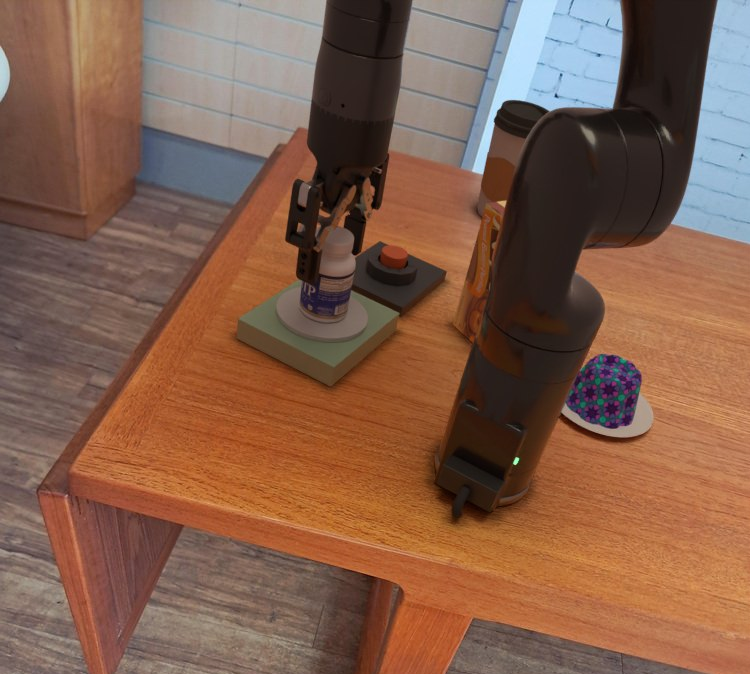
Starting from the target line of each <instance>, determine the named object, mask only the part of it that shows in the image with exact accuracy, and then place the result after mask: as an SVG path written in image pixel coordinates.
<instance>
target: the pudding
mask: <svg viewBox="0 0 750 674" xmlns="http://www.w3.org/2000/svg"><path fill="white" fill-rule="evenodd" d="M642 382H643V375H642V373H641V371H640V370H639V369H638V368H636V365H635V364H634V363H633V362H631V361H630V360H628V359H625V358H623V357H621V356H620V355H617V354H607V353H598V354H596V355H595V356H594V357H592V358H591V359H590V360H588V361H587V362H586V363H585V364H584V366H582V368H581V370H580V372H579V374H578V376H577V378H576V381H575V383H574V385H573V387H572V389H571V392H570V394H569V396H568V398H567V401H566V403H565V405H564V407H563V410H562V412H561V414H563V416H565V417H566V418H568V420H570V421H572V422H573V423H574V424H577V425H578V426H579V427H581V428H583V429H586V430H588V431H590V432H594V433H597V434H598V435H599V434H600V435H604V436H607V437H613V438H632V437H637V436H640V435H643V434H644V433H646V432H648V431H649V430H650V428H651V427H652V426H653V423H654V418H655V417H654V416H655V415H654V411H653V408H652V406H651V404H650V402H649V401H648V399H647V398H646V397H645V396H644V395H643V394H642V393H641V386H642Z"/></svg>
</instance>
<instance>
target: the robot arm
mask: <svg viewBox="0 0 750 674" xmlns="http://www.w3.org/2000/svg"><path fill="white" fill-rule="evenodd" d="M718 2H719V0H619V5H620V6H619V8H620V13H621V14H620V16H621V31H622V36H621V52H620V60H619V61H620V62H619V69H618V77H617V83H616V89H615V94H614V100H613V103H612V108H606V107H605V108H603V107H582V106H581V107H580V106H566V107H558V108H554V109H553V110H549V111H550V112H548V113H547V114H545V115H544V116H543V117H542V118H541V119H540V120H539V121H538V122H537V123H536V124H535V126H534V127H533V128H532V130H531V132H530V133H529V135H528V136H527V138H526V140H525V143H524V145H523V147H522V149H521V151H520V154H519V157H518V160H517V163H516V166H515V170H514V173H513V177H512V180H511V184H510V188H509V193H508V197H507V201H506V205H505V209H504V213H503V217H502V221H501V224H500V228H499V232H498V236H497V240H496V243H495V247H494V251H493V256H492V263H491V282H490V291H489V294H488V297H487V301H486V304H485V307H484V310H483V313H482V316H481V319H480V323H479V326H478V329H477V332H476V334H475V338H474V341H473V343H472V344H471V347H470V351H469V354H468V357H467V359H466V363H465V366H464V369H463V372H462V375H461V379H460V381H459V385H458V388H457V392H456V394H455V397H454V400H453V404H452V407H451V409H450V413H449V415H448V418H447V422H446V424H445V429H444V431H443V435H442V438H441V440H440V443H439V445H438V447H437V449H436V453H435V457H434V468H435V471H436V474H435V476H434V480H433V482H434V483H435V484H436V485H437V486H440V487H442V488H443V489H445V490H447V491H449V492H450V493H453V494H455V495H456V496H455V498H454V501H453V504H452V506H451V517H452V518H453V519H454V520H459V519H461V518H462V516H463V513H462V512H463V508H464V505H465V503H466V501H468V502H470V503H472V504H473V505H475V506H476V507H479V508H481V509H483V510H485V511H486V512H488V513H489V512H491V513H492V512H494V511H495V509H496V508H497V507H501V506H502V507H503V506H508V505H511V504H514V503H517V502H518V501H520V500H522V498H523V497H524V496H526V494H527V493H528V491H529V489H530V486H531V484H532V482H533V477H534V475H535V472H536V470H537V468H538V466H539V464H540V461H541V459H542V457H543V455H544V452H545V450H546V448H547V446H548V443H549V441H550V439H551V437H552V434H553V432H554V430H555V428H556V426H557V423H558V421H559V419H560V417H561V414H562V410H563V407H564V405H565V403H566V401H567V398H568V396H569V394H570V392H571V389H572V387H573V385H574V383H575V381H576V378H577V376H578V374H579V372H580V370H581V368H583V365H584V363H585V361H586V359H587V357H588V354H589V352H590V349H591V347H592V345H593V343H594V340H595V339H596V337H597V336H598V333H599V330H600V328H601V326H602V323H603V321H604V318H605V313H606V303H605V300H604V298H603V296H602V294H601V292H600V291H599V290H598V289H597V287H595V286H594V285H593V284H592V283H591V282H590V281H589V280H587V278H585V277H584V276H582V275H581V274H579V273H578V272H576V269H577V267H578V263H579V260H580V258H581V254H582V252H583V251H585V250H612V249H629V248H637V247H642V246H646V245H649V244H651V243H653V242H654V241H656V240H657V239H659V238H660V237H661V236H662V235H663V234H664V233H665V232H666V231H667V229H669V227H670V226H671V224H672V222H673V221H674V219H675V218H676V216H677V214H678V212H679V210H680V208H681V206H682V203H683V200H684V198H685V193H686V191H687V188H688V184H689V180H690V176H691V172H692V167H693V163H694V162H693V160H694V154H695V151H696V149H695V148H696V143H697V137H698V128H699V123H700V116H701V109H702V108H701V107H702V102H703V96H704V95H703V94H704V86H705V79H706V72H707V65H708V60H709V59H708V58H709V51H710V45H711V40H712V34H713V28H714V21H715V17H716V11H717V5H718ZM413 3H414V0H325V9H324V16H323V25H322V34H321V40H320V46H319V49H318V53H317V57H316V61H315V66H314V67H315V68H314V73H313V74H314V75H313V82H312V92H311V93H312V94H311V100H310V101H311V103H310V109H309V110H310V111H309V118H308V126H307V136H306V145H307V148H308V150H309V152H310V153H311V154H312V155H313V157H314V159H315V161H316V166H315V170H314V172H313V175H312V178H311V180H309V181H304V180H303V179H301V178H296V179H295V180H294V181H293V183H292V188H291V194H290V202H289V207H288V208H289V209H288V216H287V221H286V222H287V223H286V230H285V235H284V236H285V237H284V241H285V242H286V243H288V244H289V245H292V246H293V247H296V248H298V249H297V250H298V252H297V257H296V258H297V259H296V267H295V276H296V278H297V280H298V279H300V280H302V281H304V282H306V283H308V284H310V285H312V284H314V283H316V282H317V281H318V277H319V270H320V263H321V256H322V247H323V245H324V242H325V240H326V238H327V236H328V234H329V232H330V231H334V230H335V229H336V228H337V226H339V224H340V221H341V219H342V218H343V216H344V214H346V213H347V214H346V215H345V216H344V222H343V226H342V227H343V228H345V229H347V230H349V231H350V232H351V233H352V234H353V235H354V244H353V249H352V252H351V253H352V254H353V256H354V257H357V256H358V255H360V254H361V253H362V249H363V245H364V239H365V233H366V227H367V223H368V222H369V221H370V220H371V218H372V216H373V210H375V211H378V210H380V208H381V207H382V204H383V197H384V191H385V185H386V179H387V173H388V167H389V161H390V153H389V149H390V143H391V138H392V133H393V128H394V123H395V117H396V111H397V105H398V101H399V96H400V91H401V85H402V76H403V60H404V54H405V53H404V52H405V48H406V42H407V38H408V32H409V27H410V22H411V15H412V11H413V10H412V9H413ZM371 187H373V189H374V192H373V194H372V191H371ZM320 211H322V212H324V213H326V214H328V215H329V216H324V215H322V214H320ZM299 224H300V225H299ZM318 226H319V227H320V226H321V227H320V229H319V232H318V234H317V236H316V237H315V234H316V229H317V228H318Z"/></svg>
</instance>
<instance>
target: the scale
mask: <svg viewBox="0 0 750 674" xmlns="http://www.w3.org/2000/svg"><path fill="white" fill-rule="evenodd" d="M301 286H302V280H300V279H298V278H297V280H296V281H294V282H292V283H291V284H289V285H288V286H286V287H284V288H283V289H281V290H280V291H278V292H277V293H275V294H274V295H272V296H271V297H269V298H267V299H266V300H264V301H262V302H261V303H259V304H258V305H256V306H255V307H253V308H252V309H250V310H248V311H247V312H246V313H244V314H243V315H241V316H240V317H238V318H237V325H236V339H237V340H239V341H241V342H242V343H244V344H247V345H248V346H250V347H252V348H254V349H256V350H258V351H260V352H262V353H264V354H266V355H268V356H269V357H272V358H274V359H275V360H277V361H279V362H281V363H283V364H285V365H287V366H289V367H291V368H293V369H295V370H297V371H299V372H301V373H303V374H305V375H306V376H308V377H310V378H313V379H315V380H316V381H318V382H320V383H322V384H324V385H327V386H328V387H333V386H334V385H335V384H336V383H338V381H339V380H341V379H342V378H343V377H344V376H346V374H348V373H349V372H350V371H351V370H352V369H353V368H354V367H355V366H357V365H358V364H359V363H360V362H362V361H363V360H364V359H365V358H366V357H367V356H368V355H370V354H371V353H372V352H373V351H374V350H375V349H377V348H378V347H379V346H380V345H381V344H383V343H384V342H385V341H386V340H387V339H388V338H390V336H392V335H393V334H394V333H396V330H397V327H398V322H399V318H400V317H399V314H400V313H398V312H396V311H394V310H392V309H390V308H388V307H386V306H383V305H381V304H379V303H377V302H375V301H373V300H371V299H369V298H367V297H365V296H362V295H360V294H358V293H356V292H354V291H352V290H351V294H350V299H349V306H348V311H347V314H346V316H345V317H344V318H343V319H342V320H340V321H337V322H332V323H324V322H319V321H315V320H313V319H310V318H309V317H307V316H306V315H304V314H303V313H302V311H301V309H300V306H299V303H300V294H301Z"/></svg>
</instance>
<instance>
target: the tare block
mask: <svg viewBox="0 0 750 674" xmlns="http://www.w3.org/2000/svg"><path fill="white" fill-rule="evenodd" d="M388 245H389V244H387V243H385V242H383V241H381V240H379V241H378V242H376V243H374V244H373V245H371V246H370V247H369V248H367V249H365V250H364V251H362V252H361V253H359V254H358V255H356V256H354V258H355V261H356V266H355V273H354V278H353V283H352V288H351V290H352V291H354V292H356V293H358V294H360V295H362V296H365V297H367V298H369V299H371V300H373V301H375V302H377V303H379V304H381V305H383V306H386V307H388V308H390V309H392V310H394V311H396V312H398V313H400V314H399V318H402V317H403V316H404V315H405V314H407V313H408V312H409V311H410V310H411V309H412V308H414V307H415V306H416V305H417V304H419V302H421V301H422V300H423V299H425V297H427V295H429V294H431V292H432V291H434V290H435V289H436V288H438V287H439V286H440V285H441V284H443V282H445V280H446V276H447V272H448V271H447V270H445V269H443V268H440V267H438V266H436V265H434V264H432V263H429V262H427V261H425V260H423V259H421V258H419V257H417V256H414V255H412V254H411V253H408V257H407V261H406V266H405V268H402V269H394V268H389V267H386V266H384V265H382V264H381V263H380V257H381V252H382V248H383V247H385V246H388Z"/></svg>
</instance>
